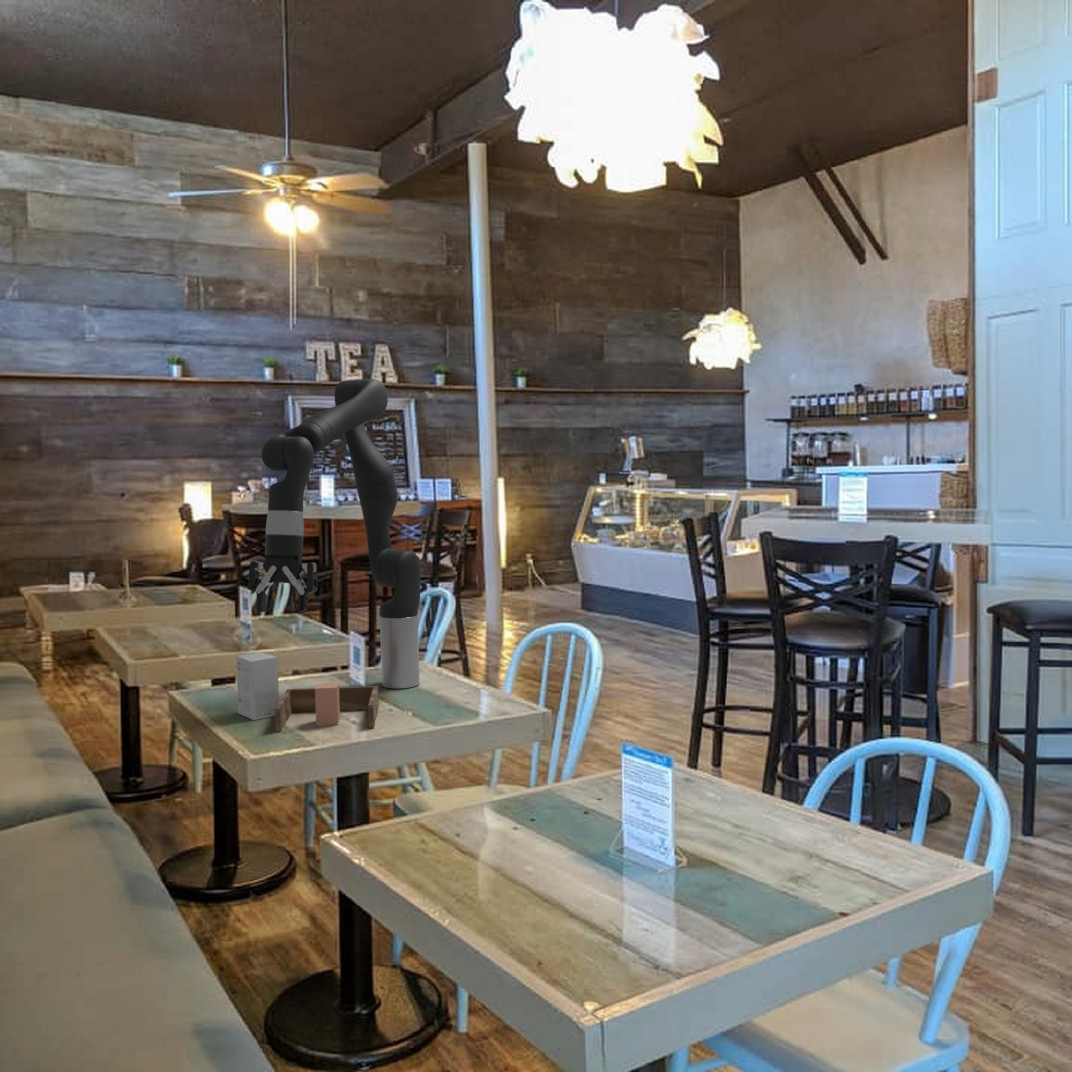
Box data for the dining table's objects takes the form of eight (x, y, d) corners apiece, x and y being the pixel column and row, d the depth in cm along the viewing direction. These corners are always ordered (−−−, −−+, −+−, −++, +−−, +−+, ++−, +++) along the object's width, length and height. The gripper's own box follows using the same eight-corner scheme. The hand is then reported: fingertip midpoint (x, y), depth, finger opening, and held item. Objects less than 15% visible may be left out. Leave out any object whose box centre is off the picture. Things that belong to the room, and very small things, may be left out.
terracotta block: (318, 720, 222) (317, 683, 222) (340, 719, 223) (338, 682, 222) (316, 725, 218) (315, 688, 217) (337, 725, 218) (336, 687, 218)
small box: (280, 715, 227) (278, 657, 226) (253, 720, 223) (250, 661, 222) (264, 708, 233) (262, 651, 232) (237, 713, 229) (235, 655, 228)
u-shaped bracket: (288, 711, 230) (287, 689, 230) (378, 707, 232) (378, 685, 232) (275, 732, 213) (275, 708, 213) (373, 728, 215) (373, 704, 215)
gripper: (324, 535, 215) (321, 613, 214) (260, 533, 218) (257, 610, 217) (309, 533, 208) (306, 614, 207) (244, 532, 210) (240, 612, 210)
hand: (281, 612), depth 212 cm, fingers open, 8 cm apart
